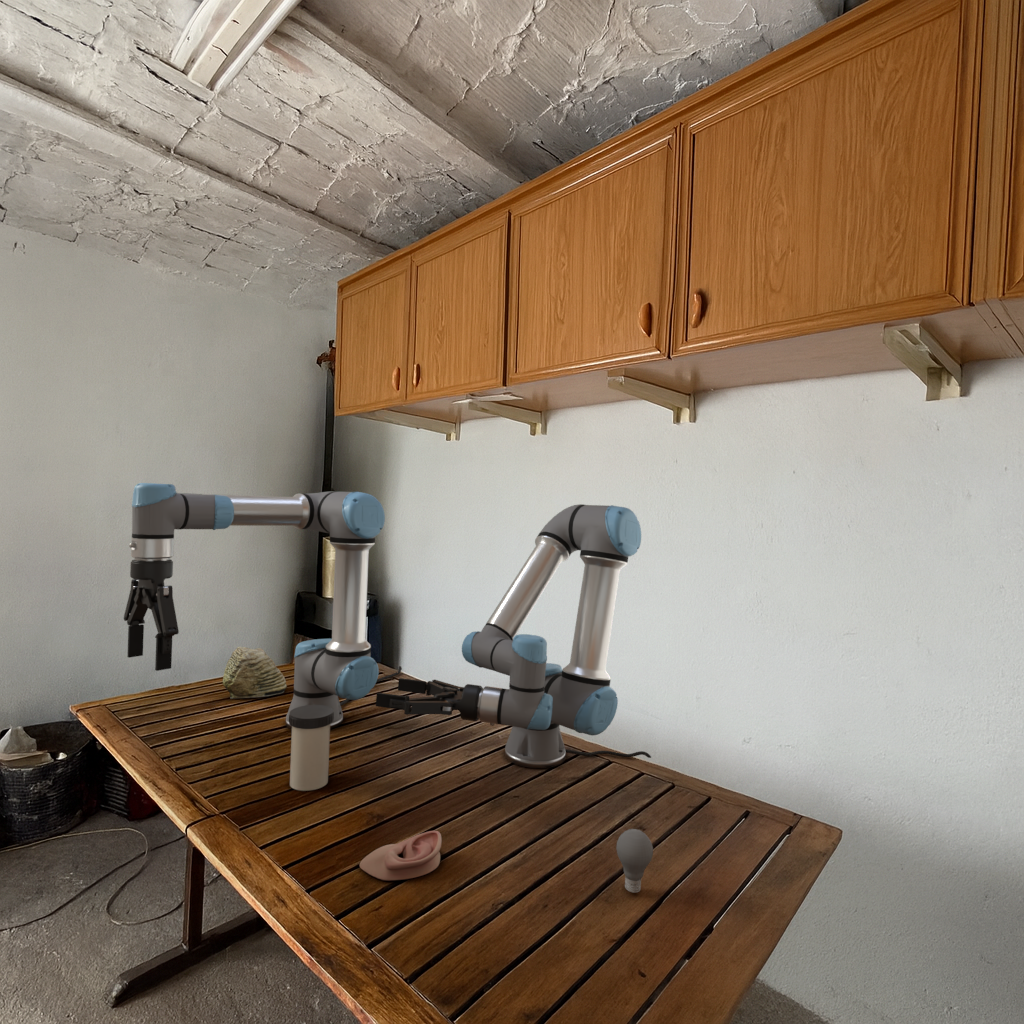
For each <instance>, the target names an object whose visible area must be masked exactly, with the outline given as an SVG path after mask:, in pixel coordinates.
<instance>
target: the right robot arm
mask: <svg viewBox="0 0 1024 1024" xmlns="http://www.w3.org/2000/svg"><path fill="white" fill-rule="evenodd" d="M641 543H642V527H641V524H640V521H639V519H638V517H637V515H636V513H635V512H634V511H633V510H632V509H630V508H628V507H625V506H619V505H614V504H613V505H600V504H582V503H581V504H580V503H579V504H573V505H571V506H568V507H566V508H564V509H563V510H561V511H559V512H557V514H555V515H554V516H553V517H552V518H551V519H550V520H549V521H547V523H546V524H545V525H544V526H543V528H542V529H541V530H540V532H539V533H538V534H537V536H536V538H535V539H534V544H535V547H534V548H533V550H532V551H531V552H530V554H529V556H528V557H527V559H526V561H525V562H524V564H523V565H522V567H521V568H520V570H519V571H518V573H517V574H516V576H515V578H514V579H513V581H512V582H511V584H510V586H509V587H508V589H507V590H506V592H505V593H504V594H503V597H502V598H501V600H500V601H499V602H498V604H497V606H496V607H495V609H494V610H493V612H492V614H491V615H490V617H489V618H488V620H487V621H486V623H485V625H483V627H482V629H481V631H478V630H477V631H471V632H470V633H469V634H466V636H465V637H464V639H463V641H462V644H461V654H462V657H463V658H464V660H465V661H466V662H467V663H469V664H471V665H474V666H476V667H478V668H481V669H482V668H483V669H486V670H490V671H492V672H493V671H494V672H496V673H499V674H502V675H506V676H509V683H508V688H503V687H498V686H497V687H495V686H488V685H486V686H485V685H484V687H483V686H482V685H479V684H472V683H471V684H470V683H467V684H465V686H458V685H455V684H451V683H448V682H444V681H442V680H438V679H432V680H428V681H426V680H417V679H411V678H403V677H399V678H398V684H397V691H398V692H405V693H414V694H422V695H425V694H426V696H421V697H420V696H419V697H410V695H408V694H405V695H400V694H393V693H385V692H377V693H376V698H375V707H379V708H387V709H393V710H399V711H400V710H401V711H404V715H407V716H408V715H445V716H452V715H453V712H454V711H458V712H459V717H460V718H461V720H462V721H469V722H478V721H480V723H485V724H489V725H490V726H491V727H493V726H495V725H501V726H507V727H511V729H510V733H509V735H508V737H507V741H506V743H505V747H504V757H505V758H506V759H507V760H508V762H510V763H512V764H514V765H516V766H520V767H524V768H527V769H549V768H554V767H558V766H560V765H561V764H563V763H564V762H565V760H566V754H573V755H577V756H581V757H592V756H597V755H611V756H615V757H620V758H633V757H637V756H645V757H647V759H651V758H652V756H651V754H649V753H648V752H646V751H644V750H643V751H642V750H641V751H636V752H632V753H623V752H617V751H611V750H595V751H590V752H584V751H578V750H575V749H567V748H566V747H565V742H564V740H563V735H562V732H561V728H560V726H561V727H563V728H566V729H570V730H573V731H575V732H576V733H578V734H585V735H588V736H598V735H600V734H603V733H604V731H606V730H607V729H608V727H609V726H610V725H611V724H612V722H613V720H614V718H615V716H616V713H617V710H618V704H619V703H618V702H619V699H618V696H617V692H616V690H614V688H612V687H611V681H612V679H611V676H610V674H609V673H608V672H607V662H608V655H609V648H610V643H611V642H610V641H611V636H612V635H611V634H612V628H613V622H614V621H613V620H614V616H615V615H614V614H615V607H616V601H617V593H618V587H619V579H620V572H621V570H622V569H623V568H624V567H626V566H627V565H628V564H629V563H628V561H629V557H632V556H634V555H636V553H638V550H639V549H640V547H641ZM577 551H580V553H579V558H580V560H581V561H582V562H583V564H584V566H583V567H584V568H583V574H582V581H581V586H580V587H581V588H580V592H579V593H580V594H579V601H578V607H577V612H576V613H577V614H576V621H575V625H574V633H573V640H572V645H571V654H570V660H569V663H568V664H567V665H565V666H564V667H562V666H561V665H560V664H558V663H553V662H552V663H549V662H547V661H548V656H547V654H548V642H547V640H546V638H544V637H543V636H541V635H536V634H527V633H523V634H522V633H521V634H518V633H519V632H520V631H521V628H523V626H524V624H525V622H526V621H527V619H528V617H529V615H530V614H531V612H532V611H533V609H534V607H535V606H536V604H537V603H538V601H539V599H540V598H541V596H542V594H543V593H544V591H545V590H546V588H547V586H548V585H549V584H550V581H551V580H552V578H553V577H554V575H555V574H556V571H557V570H558V569H559V567H560V565H561V563H562V562H566V561H568V559H569V558H570V557H571V555H572V554H573V553H575V552H577ZM616 752H617V753H616Z"/></svg>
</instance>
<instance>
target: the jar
mask: <svg viewBox="0 0 1024 1024" xmlns="http://www.w3.org/2000/svg"><path fill="white" fill-rule="evenodd" d="M290 735H291V736H290V759H289V760H290V761H289V787H290V788H292V789H293V790H296V791H301V792H306V791H307V792H308V791H315V790H318V789H321V788H323V787H325V786H326V785H327V784H328V783H329V774H330V773H329V768H330V744H331V743H330V742H331V729H330V724H329V725H327V726H324V727H321V728H314V729H301V728H296V727H293V726H292V729H291V733H290Z"/></svg>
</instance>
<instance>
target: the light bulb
mask: <svg viewBox="0 0 1024 1024" xmlns="http://www.w3.org/2000/svg"><path fill="white" fill-rule="evenodd" d="M615 849H616V854H617V857H618V859H619V861H620V863H621V865H622V867H623V873H624V874H623V875H624V876H625V878H624V888H625V890H627V891H628V892H630V893H634V894H635V893H639V892H640V891H641V889H642V887H641V886H642V879H643V877H644V875H645V871H646V868H647V867H648V866H649V864H650V863H651V861H652V859H653V855H654V847H653V843H652V841H651V838H649V836H648V835H647V834H646V833H645V832H643V831H642V830H641V829H636V828H629V829H627V830H625V831H623V832H622V833H621V834H620V835H619V837H618V839H617V841H616V847H615Z"/></svg>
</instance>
